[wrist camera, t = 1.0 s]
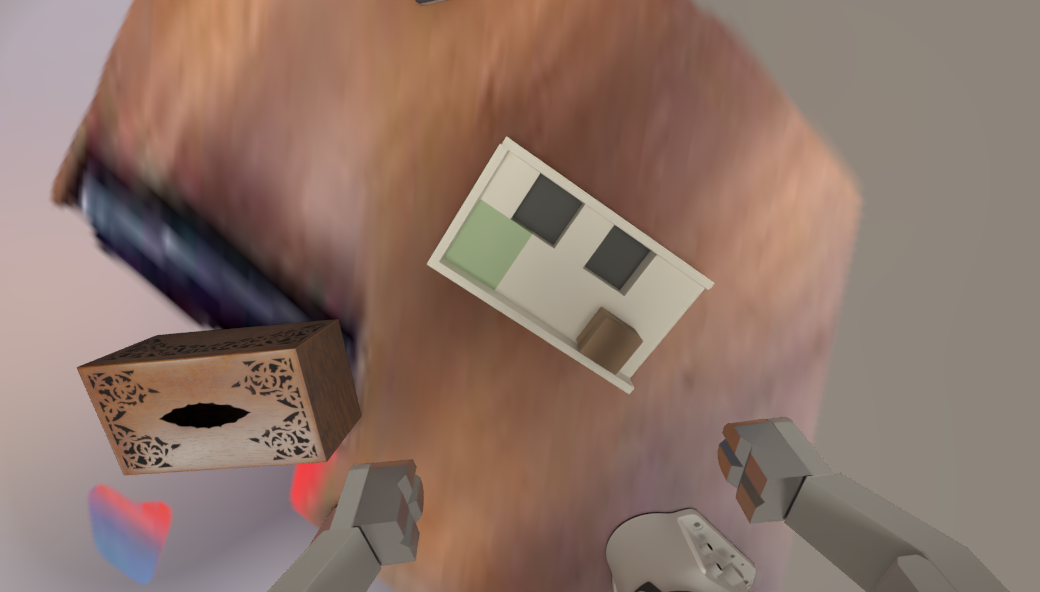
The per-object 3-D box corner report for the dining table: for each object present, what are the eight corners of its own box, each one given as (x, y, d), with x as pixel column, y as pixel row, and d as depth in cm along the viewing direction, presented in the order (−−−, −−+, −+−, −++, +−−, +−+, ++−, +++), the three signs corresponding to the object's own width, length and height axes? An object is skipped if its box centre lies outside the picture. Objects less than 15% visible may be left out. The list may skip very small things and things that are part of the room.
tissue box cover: (191, 427, 59) (123, 475, 49) (157, 334, 55) (76, 367, 45) (362, 414, 57) (326, 461, 47) (339, 318, 53) (295, 348, 43)
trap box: (700, 275, 49) (720, 286, 44) (620, 373, 53) (629, 394, 48) (509, 140, 46) (505, 134, 41) (438, 255, 50) (426, 264, 45)
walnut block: (635, 328, 48) (643, 341, 44) (609, 360, 49) (615, 375, 46) (601, 306, 48) (606, 317, 44) (576, 338, 49) (579, 352, 45)
